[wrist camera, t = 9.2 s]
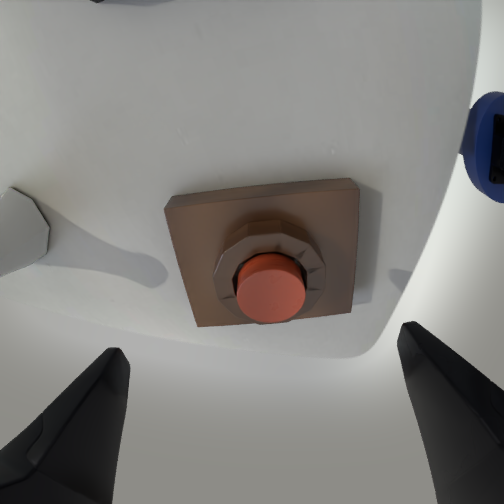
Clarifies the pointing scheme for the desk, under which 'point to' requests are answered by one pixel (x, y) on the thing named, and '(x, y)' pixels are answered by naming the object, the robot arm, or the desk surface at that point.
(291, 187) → the button block
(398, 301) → the desk surface
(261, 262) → the power button
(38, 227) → the flask
